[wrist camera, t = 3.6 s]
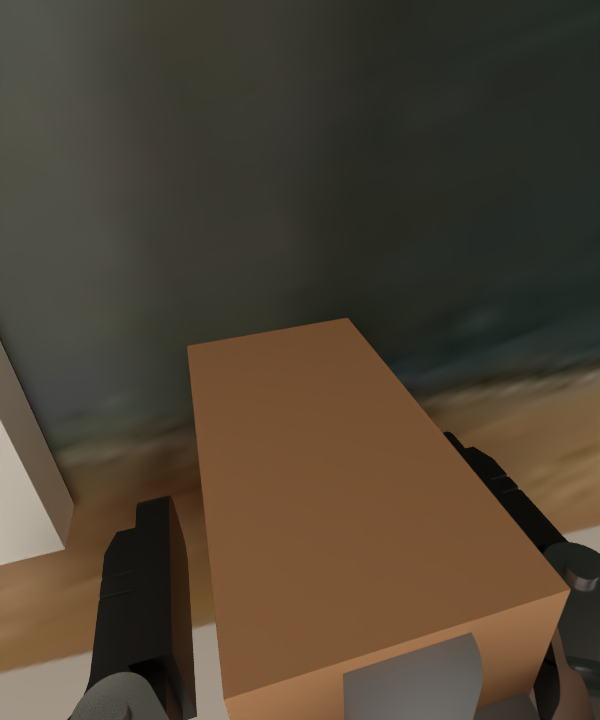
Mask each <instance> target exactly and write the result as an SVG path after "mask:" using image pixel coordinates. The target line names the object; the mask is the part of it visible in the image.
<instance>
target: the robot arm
mask: <svg viewBox="0 0 600 720" xmlns="http://www.w3.org/2000/svg"><path fill="white" fill-rule="evenodd" d="M443 434H444V436H445V437H446V438H447V439H448V440H449V442H450V443H451V444H452V445H453V447H454V448H455V449H456V450H457V451H458V453H459V454H460V455H461V456H462V458H463V459H464V460H465V461H466V462H467V464H468V465H469V466H470V467H471V468H472V470H473V471H474V472H475V473H476V475H477V476H478V477H479V478H480V479H481V481H482V482H483V483H484V484H485V486H486V487H487V488H488V489H489V490H490V492H491V493H492V494H493V495H494V496H495V498H496V499H497V500H498V501H499V503H500V504H501V505H502V506H503V507H504V509H505V510H506V511H507V512H508V513H509V515H510V516H511V517H512V518H513V520H514V521H515V522H516V523H517V524H518V526H519V527H520V528H521V529H522V531H523V532H524V533H525V534H526V535H527V537H528V538H529V539H530V540H531V541H532V543H533V544H534V545H535V546H536V548H537V549H538V550H539V551H540V552H541V554H542V555H543V556H544V557H545V559H546V560H547V561H548V562H549V563H550V565H551V566H552V567H553V568H554V569H555V571H556V572H557V573H558V574H559V576H560V577H561V578H562V579H563V580H564V582H565V583H566V584H567V585H568V587H569V588H570V589H571V590H570V593H569V595H568V598H567V600H566V603H565V606H564V608H563V611H562V613H561V616H560V618H559V621H558V624H557V626H556V629H555V631H554V634H553V636H552V639H551V641H550V644H549V647H548V649H547V652H546V654H545V657H544V659H543V662H542V664H541V667H540V670H539V672H538V675H537V677H536V680H535V682H534V685H533V687H532V690H531V693H530V695H529V698H530V699H531V701H532V703H533V705H534V707H535V709H536V711H537V713H538V715H539V717H540V720H600V554H599V553H598V552H596V551H595V550H593V549H591V548H588V547H586V546H584V545H580V544H577V543H572V542H568V541H567V540H566V539H565V538H564V537H563V536H562V535H561V534H560V532H559V531H558V530H557V529H556V528H555V527H554V526H553V525H552V524H551V522H550V521H549V520H548V519H547V518H546V517H545V516H544V515H543V514H542V513H541V511H540V510H539V509H538V508H537V507H536V506H535V505H534V504H533V503H532V501H531V500H530V499H529V498H528V497H527V496H526V495H525V494H524V493H523V491H522V490H519V489H518V486H517V485H516V484H515V483H514V482H513V480H512V479H511V478H510V477H507V475H506V473H505V472H504V470H503V469H502V468H501V467H500V466H499V465H498V464H497V463H496V462H495V460H494V459H493V458H491V457H490V456H488V455H486V454H485V453H483V452H481V451H480V450H478V449H476V448H475V447H470V448H466V449H465V448H464V447H463V445H462V444H461V443H460V442H459V441H458V440H457V438H456V437H455V436H454V435H453V434H452V433H450V432H443ZM196 710H197V709H196V692H195V677H194V658H193V642H192V624H191V607H190V590H189V573H188V559H187V552H186V546H185V541H184V537H183V533H182V530H181V527H180V523H179V520H178V516H177V513H176V510H175V506H174V503H173V499H172V497H171V495H169V496H165V497H161V498H156V499H152V500H148V501H143V502H139V503H138V504H137V509H136V527H135V528H132V529H128V530H124V531H119V532H117V533H116V534H115V536H114V538H113V540H112V542H111V543H110V545H109V547H108V549H107V551H106V552H105V555H104V563H103V572H102V581H101V588H100V601H99V605H98V613H97V622H96V630H95V638H94V647H93V655H92V663H91V672H90V678H89V682H88V685H87V688H86V691H85V693H84V696H83V697H82V698H81V700H80V701H79V703H78V704H77V706H76V708H75V709H74V711H73V713H72V715H71V716H70V717H69V718H68V720H188V719H191V718H194V717H197V711H196Z"/></svg>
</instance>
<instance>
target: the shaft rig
mask: <svg viewBox="0 0 600 720" xmlns="http://www.w3.org/2000/svg"><path fill="white" fill-rule="evenodd" d="M73 509H74V503H73V501H72V499H71V496H70V494H69V492H68V490H67V488H66V485H65V483H64V481H63V479H62V476H61V474H60V472H59V470H58V468H57V465H56V463H55V461H54V459H53V456H52V454H51V452H50V450H49V448H48V445H47V443H46V441H45V439H44V436H43V434H42V432H41V430H40V428H39V425H38V423H37V421H36V419H35V417H34V414H33V412H32V410H31V408H30V405H29V403H28V401H27V399H26V397H25V394H24V392H23V390H22V388H21V385H20V383H19V381H18V379H17V377H16V374H15V372H14V370H13V368H12V365H11V363H10V361H9V359H8V357H7V354H6V352H5V350H4V348H3V346H2V343H1V341H0V565H3V564H7V563H11V562H15V561H19V560H23V559H27V558H31V557H35V556H39V555H44V554H48V553H52V552H56V551H60V550H64V549H65V547H66V542H67V538H68V533H69V528H70V523H71V518H72V513H73Z"/></svg>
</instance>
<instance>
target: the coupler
mask: <svg viewBox="0 0 600 720" xmlns="http://www.w3.org/2000/svg"><path fill="white" fill-rule="evenodd" d="M187 351H188V361H189V370H190V380H191V389H192V399H193V408H194V418H195V428H196V437H197V447H198V456H199V466H200V475H201V485H202V495H203V504H204V514H205V523H206V533H207V543H208V552H209V562H210V571H211V581H212V590H213V600H214V610H215V619H216V627H217V638H218V648H219V657H220V667H221V677H222V686H223V696H224V701H225V705H226V708H227V711H228V714H229V718H230V720H540V717H539V715H538V713H537V711H536V709H535V707H534V705H533V703H532V701H531V699H530V698H529V695H530V693H531V690H532V687H533V685H534V682H535V680H536V677H537V675H538V672H539V670H540V667H541V664H542V662H543V659H544V657H545V654H546V652H547V649H548V647H549V644H550V641H551V639H552V636H553V634H554V631H555V629H556V626H557V624H558V621H559V618H560V616H561V613H562V611H563V608H564V606H565V603H566V600H567V598H568V595H569V593H570V590H571V589H570V588H569V587H568V585H567V584H566V583H565V582H564V580H563V579H562V578H561V577H560V576H559V574H558V573H557V572H556V571H555V569H554V568H553V567H552V566H551V565H550V563H549V562H548V561H547V560H546V559H545V557H544V556H543V555H542V554H541V552H540V551H539V550H538V549H537V548H536V546H535V545H534V544H533V543H532V541H531V540H530V539H529V538H528V537H527V535H526V534H525V533H524V532H523V531H522V529H521V528H520V527H519V526H518V524H517V523H516V522H515V521H514V520H513V518H512V517H511V516H510V515H509V513H508V512H507V511H506V510H505V509H504V507H503V506H502V505H501V504H500V503H499V501H498V500H497V499H496V498H495V496H494V495H493V494H492V493H491V492H490V490H489V489H488V488H487V487H486V486H485V484H484V483H483V482H482V481H481V479H480V478H479V477H478V476H477V475H476V473H475V472H474V471H473V470H472V468H471V467H470V466H469V465H468V464H467V462H466V461H465V460H464V459H463V458H462V456H461V455H460V454H459V453H458V451H457V450H456V449H455V448H454V447H453V445H452V444H451V443H450V442H449V440H448V439H447V438H446V437H445V436H444V434H443V433H442V432H441V431H440V430H439V428H438V427H437V426H436V425H435V423H434V422H433V421H432V420H431V419H430V417H429V416H428V415H427V414H426V412H425V411H424V410H423V409H422V408H421V406H420V405H419V404H418V403H417V402H416V400H415V399H414V398H413V397H412V395H411V394H410V393H409V392H408V391H407V389H406V388H405V387H404V386H403V384H402V383H401V382H400V381H399V380H398V378H397V377H396V376H395V375H394V374H393V372H392V371H391V370H390V369H389V367H388V366H387V365H386V364H385V363H384V361H383V360H382V359H381V358H380V356H379V355H378V354H377V353H376V352H375V350H374V349H373V348H372V347H371V346H370V344H369V343H368V342H367V341H366V339H365V338H364V337H363V336H362V335H361V333H360V332H359V331H358V330H357V328H356V327H355V326H354V325H353V324H352V322H351V321H350V320H349V319H348V318H343V319H338V320H332V321H326V322H320V323H315V324H309V325H303V326H298V327H292V328H286V329H281V330H275V331H269V332H264V333H258V334H252V335H246V336H241V337H235V338H229V339H224V340H218V341H212V342H207V343H201V344H195V345H190V346H187Z"/></svg>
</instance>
